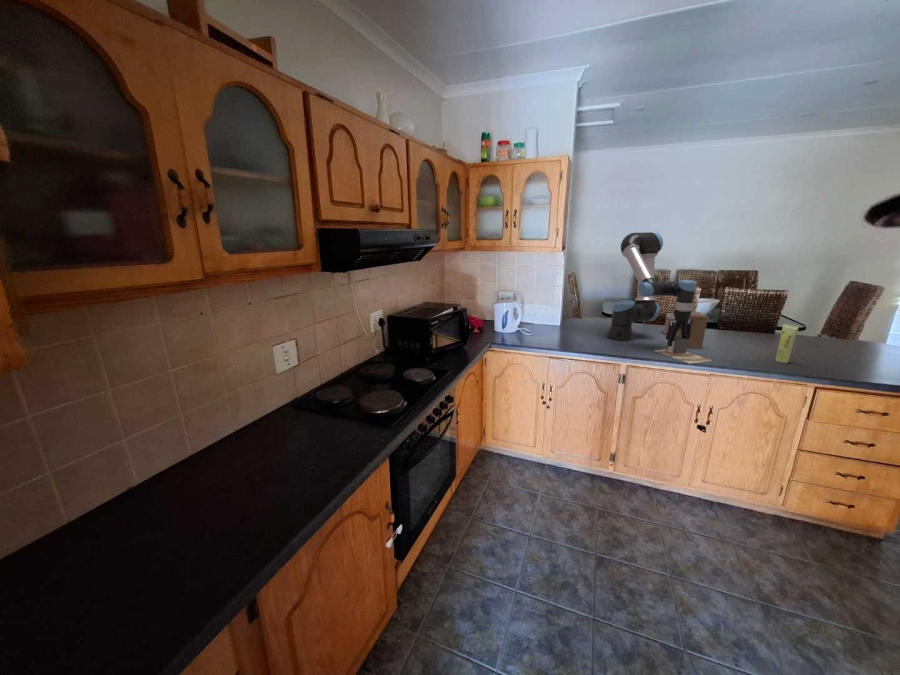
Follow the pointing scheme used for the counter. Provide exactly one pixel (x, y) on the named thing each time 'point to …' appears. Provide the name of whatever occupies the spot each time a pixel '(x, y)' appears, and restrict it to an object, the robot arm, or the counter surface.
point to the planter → (668, 318)
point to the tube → (786, 342)
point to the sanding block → (679, 346)
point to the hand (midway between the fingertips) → (675, 351)
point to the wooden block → (696, 330)
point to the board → (685, 357)
